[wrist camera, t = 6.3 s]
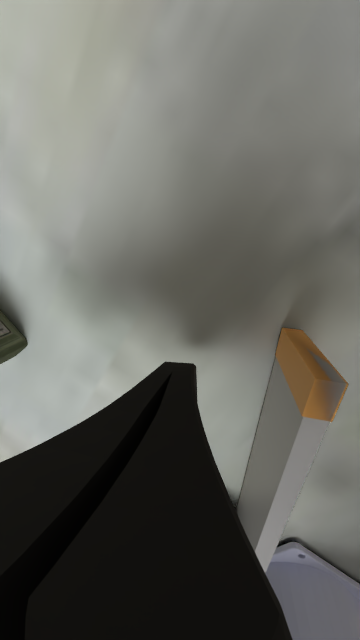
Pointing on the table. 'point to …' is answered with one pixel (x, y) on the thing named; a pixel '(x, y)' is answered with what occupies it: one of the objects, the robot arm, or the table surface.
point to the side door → (287, 438)
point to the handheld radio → (10, 339)
